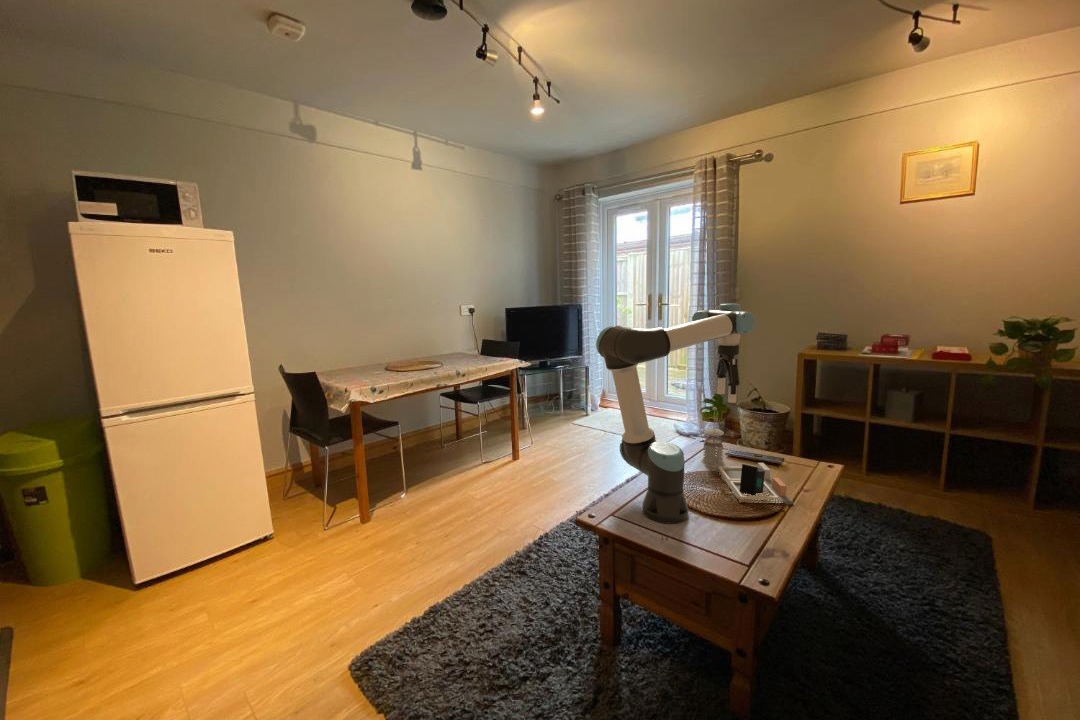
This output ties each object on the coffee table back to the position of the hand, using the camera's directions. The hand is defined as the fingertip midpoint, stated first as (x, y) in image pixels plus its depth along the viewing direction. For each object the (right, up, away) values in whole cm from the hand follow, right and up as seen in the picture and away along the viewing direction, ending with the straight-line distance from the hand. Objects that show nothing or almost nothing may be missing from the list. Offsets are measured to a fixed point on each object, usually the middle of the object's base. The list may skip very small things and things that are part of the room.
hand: (726, 398), depth 170 cm
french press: (+3, -30, +19) cm, 36 cm away
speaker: (+5, -34, -10) cm, 35 cm away
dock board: (+8, -33, -4) cm, 35 cm away
